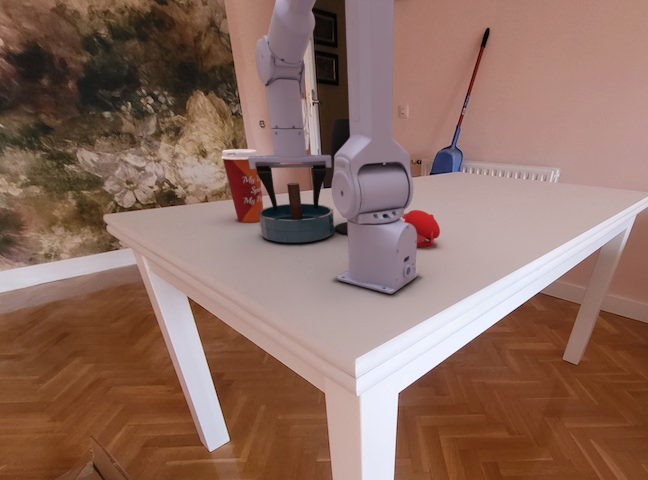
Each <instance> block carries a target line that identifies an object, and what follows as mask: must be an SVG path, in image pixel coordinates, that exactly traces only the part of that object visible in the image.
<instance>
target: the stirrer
mask: <svg viewBox="0 0 648 480" xmlns="http://www.w3.org/2000/svg"><path fill="white" fill-rule="evenodd" d="M286 186H287V194H288V204H290V213H291V220H300V219H303V217H302V207H301V203H302V198H301V188H300V183H299V182H289V183H287V184H286Z"/></svg>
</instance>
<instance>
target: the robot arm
mask: <svg viewBox="0 0 648 480" xmlns="http://www.w3.org/2000/svg"><path fill="white" fill-rule="evenodd" d="M316 1H317V0H275V3H274V7H273V11H272V14H271V19H270V22H269V27H268V31H267V34H266V35H262V37H261V38H259V39H258V40H257V41H256V48H255V63H256V64H255V65H256V70H257V74H258V77H259V80H260V82H261V83H262V85H264V88H265V95H266V96H265V97H266V104H267V112H268V119H269V127H270V136H271V143H272V150H273V154H269V155H268V154H267V155H258V156H249V157H248V160H249V166H250V169H257V175H258V177H259V178H260V180H261V184H262V185H263V187H264V189H265V191H266V193H267V195H268V197H269V200H270V202H271V205H272V206H273V210H277V205H278V202H277V198H276V192H275V187H274V179H273V172H272V171H273V170H272V169H288V168H289V169H291V168H292V169H293V168H295V169H296V168H311V169H310V170H311V171H310V172H311V182H312V199H313V200H312V202H313V203H312V204H314V208H315V209H318V205H319V202H320V201H319V200H320V194H321V190H322V187H323V183H324V180H325V177H326V175H327V168H332V167H333V175H332V176H333V177H332V180H331V196H332V201H333V205H334V207H335V209H336V210H337V211H338V213H339V214H340V216H341V217H342V218H343V219H346V222H347V228H348V235H347V250H348V270H347V271H345V272H343V273H341V274H339V275H338V276H337V277H336V279H337V281H339V282H343V283H348V284H351V285H355V286H359V287H361V288H366V289H370V290H373V291H378V292H381V293H386V294H389V295H392V294H394V293H396V292H397V291H399V290H400V289H401V288H403V287H404V286H406V285H408V283H410V282H411V281H413V280H414V279H416V278H417V277H418V273H417V272H416V266H417V264H416V263H417V248H418V246H417V233H416V229H415V227H414V226H413V225H411V224H409V223H405V222H404V220H402V217H404V214H405V210H406V209H408V208H409V206H410V205H411V203H412V201H413V200H412V199H413V196H414V195H413V194H414V181H413V177H412V173H411V172H412V171H411V162H410V161H411V155H410V153H409V152H408V151H406V149H405V148H403V147H402V145H400V144H399V143H398V142H397V141H396V140H395V139H394V138H393V104H394V103H393V102H394V101H393V97H394V96H393V95H394V34H395V33H394V27H395V23H394V21H395V0H344V8H345V9H344V10H345V35H346V36H345V37H346V61H347V62H346V63H347V64H346V65H347V67H346V68H347V85H348V86H347V87H348V88H347V90H348V119H349V122H350V138H349V139H348V141H347V142H346V143H345V144H344V145H343V146H342V147H341V148H340V150H339V151H338V152H337V153H336V154H335V156H334V163H333V166H332V156H331V155H330V154H307V148H306V137H305V126H304V115H303V104H302V98H303V97H304V93H305V90H304V89H305V88H304V84H305V83H304V82H305V77H306V63H305V60H304V58H305V54H306V51H307V50H308V46H309V44H310V41H311V38H312V36H313V32H314V29H315V26H316V19H315V15H314V13H313V11H312V9H313V8H314V5H315V3H316ZM369 163H383V165H370V166H363V165H365V164H369Z"/></svg>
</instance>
